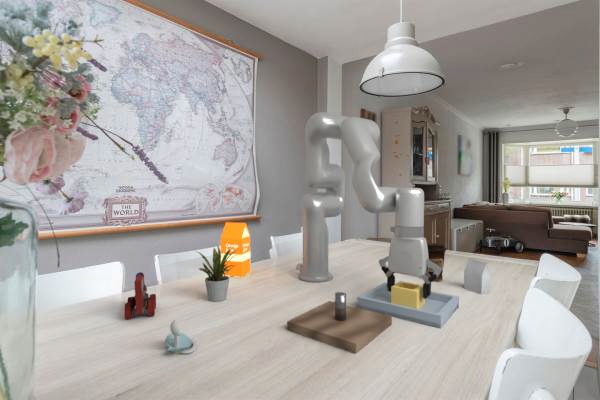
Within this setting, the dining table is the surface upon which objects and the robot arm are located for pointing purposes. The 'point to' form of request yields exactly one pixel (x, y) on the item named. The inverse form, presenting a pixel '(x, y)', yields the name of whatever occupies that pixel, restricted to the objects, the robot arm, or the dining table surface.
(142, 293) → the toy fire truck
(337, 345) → the board
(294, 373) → the dining table surface
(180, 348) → the pacifier
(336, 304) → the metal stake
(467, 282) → the grey house shaped block
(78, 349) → the dining table surface
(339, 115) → the robot arm
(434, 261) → the coffee cup
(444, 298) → the tray
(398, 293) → the collar
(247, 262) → the orange juice
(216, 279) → the house plant
